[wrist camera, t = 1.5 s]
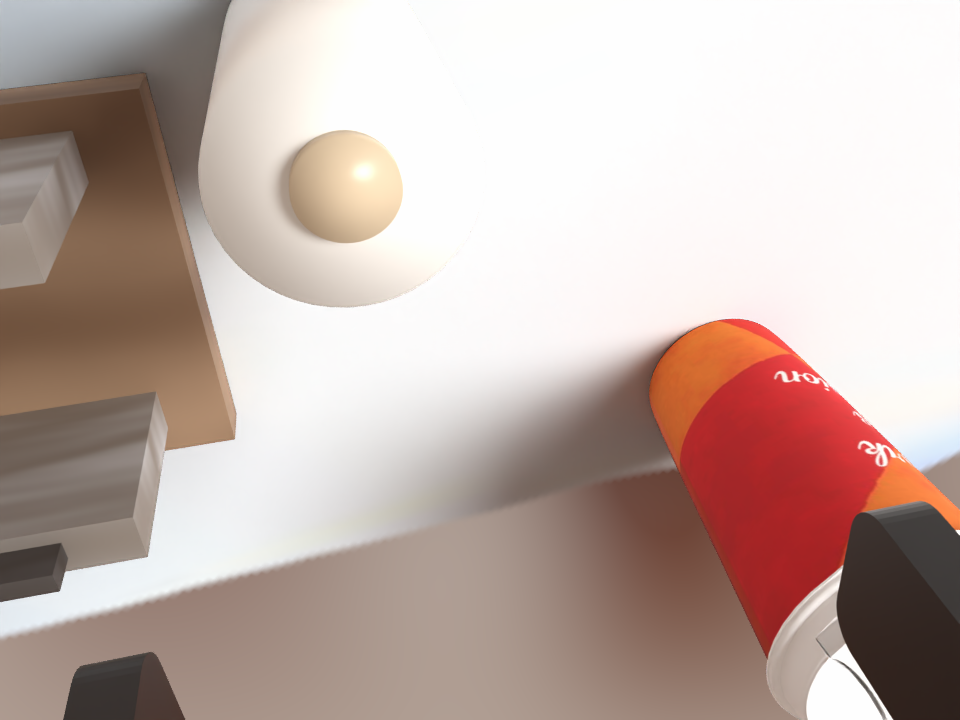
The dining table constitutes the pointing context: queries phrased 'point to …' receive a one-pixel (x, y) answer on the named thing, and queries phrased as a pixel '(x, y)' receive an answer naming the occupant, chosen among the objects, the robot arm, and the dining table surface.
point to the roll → (336, 150)
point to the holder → (94, 330)
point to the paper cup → (782, 498)
